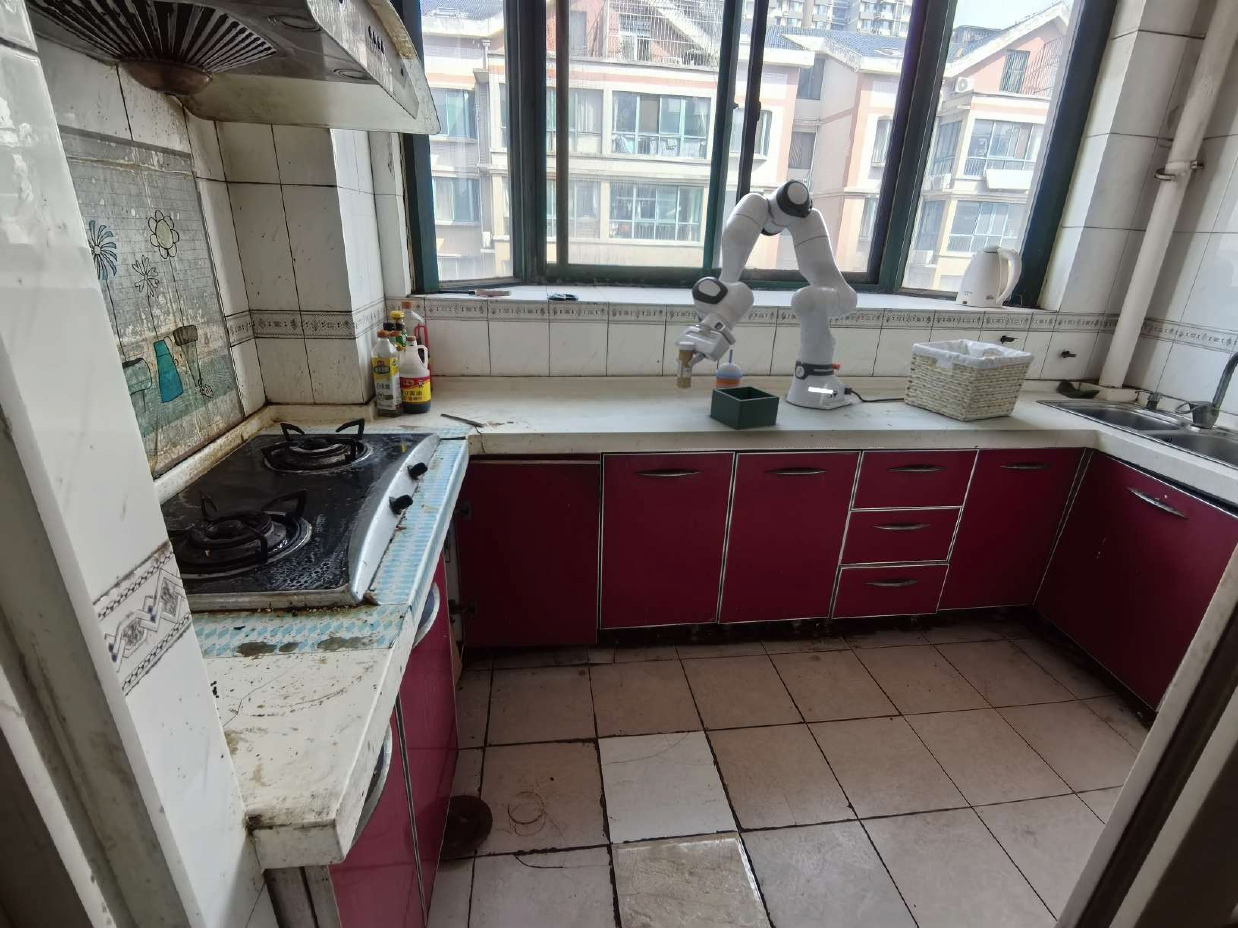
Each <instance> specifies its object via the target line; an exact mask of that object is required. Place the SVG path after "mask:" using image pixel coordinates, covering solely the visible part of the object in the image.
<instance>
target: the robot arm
mask: <svg viewBox="0 0 1238 928" xmlns="http://www.w3.org/2000/svg"><path fill="white" fill-rule="evenodd" d="M813 203H814V202H813V199H812V196H811V193H810V190H809V188H808V187H807V186H806V184H804V183H803V182H802V181H800V180H798V179H790V180H788V181H785V182H784V183H782V184H780V186H779V187H778V188H777V189H775V190H774V191H773V192H772V193H771V194H770V195H768V197H767V198H765V197H764V196H763V195H761V194H759V193H756V192H751V193H748V194H745V195H743V197H742V198H741V199H740V200H739V202H738V203H737V204H736V206H735V207H734V208H733V211H732V212H731V213H730V215H729V217H728V218H727V221H726V222H725V225H724V227H723V229H722V230H723V231H722V233H721V234H722V235H721V239H720V245H721V258H722V260H721V261H722V263H721V265H722V266H721V271H720V274H719V277H718V278H716V277H714V276H705V277H702V278H700V279H699V280H697V281H696V282H695V284H694V285H693V287H692V288H691V294H692V300H693V303H694V304H693V305H694V307H695V310H696V314H697V320H698V324H694V325H693V326H689V327H687V328H686V329H684V330H683V331H682V333H680V335H679V336H678V337H676V339H675V341H674V345H675V346H676V347H677V348H678V349H679V343H680V342H692V343H694V344H695V346H694V351H693V358H692V359H689V360H688V361H687V365H688V366H689V367H691V368H692V369H693V368H694V366H696V364H698V363H700V362H701V361H703V360H704V359H706V360H708V361H712V362H714V363H715V362H717V361H719V360H721V359H722V358H723V357H724V356H725V354H726V353H727V352H728V351H729V350H730V348H731V346H733V345H734V344H735V343H737V339H736V338H735V336H734V334H733V333H732V331H733V330H734V327H735V326H736V325H737V324H739V323H740V322H741V321H742V320H743V319H744V318H745V316H746V315H747V314H748V313H749V311H750V310H751V309H752V306H753V305H754V302H755V297H754V293H753V291H752V290H751V288H750V286H748V285H747V284H746V283H744V282H742V281H740V280H741V278H742V275H743V272H744V270H745V267H746V265H747V263H748V260H749V258H750V256H751V254H752V251H753V249H754V247H755V245H756V243H757V241H758V239H759V237H760V235H763V236H765V237H775V236H776V235H779V234H780V233H781V232H783V231H784V230H785V229H786V230H788V232H789V233H790V235H791V237H792V238H791V239H792V244H793V249H794V253H795V259H796V263H797V267H798V271H799V273H800V275H801V276H802V277H804V279H806V280H807V282H808V283H809V284H808V285H806V286H804V287H801V288H798V289H797V290H796V291H795V292H794V293H793V295H792V297H791V300H790V309H791V312H792V314H793V315H794V316H795V317H796V319H797V321H798V325H799V331H800V332H799V333H800V341H799V348H798V356H797V359H796V360H795V364H794V374H793V377H792V381H791V384H790V389H789V392H788V393H787V396H786V401H787V402H788V403H790V404H793V405H795V406H796V405H797V406H800V407H805V408H814V409H815V408H816V409H821V410H831V409H835V408H840V407H844V406H848V405H851V404H852V400H851V399H850V398H848V397H846V396H851V395H852V394H854V395H856V396H857V398H858V399H859V401H860V402H862V403H863V402H864V403H877V402H891V401H904V397H895V398H892V397H891V398H878V399H877V398H876V399H864V398H863V397H861V395H860V394H859V393H858V392H856V391H855V390H853V388H852V387H850V386H848V385H846V384H844V383H843V382H842V381H841V380H840V379H839V377H837V375H835V371H840V369H841V368H842V366H841V364H840V363H833V359H834V353H835V348H836V338H835V336H834V335H833V334H832V332H831V325H830V323H831V322H830V321H831V320H837V319H841V318H844V317H847V316H849V315H851V314H852V313H853V312H854V311H855V309H856V307H857V305H858V299H859V298H858V295H857V292H856V290H855V289H854V288H853V287H851V285H849V284H848V283H847V281H846V279H845V277H844V276H843V275H842V273H841V270H840V268H839V267H838V265H837V262H836V260H835V255H834V251H833V248H832V243H831V239H830V235H829V231H828V228H827V225H826V222H825V220H824V217H823V216H822V215H823V214H822V213H821V211H819V209H817V208H814V207H813V205H814V204H813ZM678 359H679V355H678V356H677V357H676V359H675V360H676V362H677V363H678Z"/></svg>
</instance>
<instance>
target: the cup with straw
mask: <svg viewBox="0 0 1238 928" xmlns="http://www.w3.org/2000/svg"><path fill="white" fill-rule="evenodd" d="M733 352H734V351H733V349H729V354H728V362H724V363H721V364H720V365H719V366H718V368H717V369H716V370H715V371H714V376H715V377H716V379H715V389H722V388H732V387H740V385H741V382H740V381H741V379H742V378H743V375H744V374H743V372H742V371H741V368H740V366H739V365H738V364H736V363H735V362H732V361H733V354H734V353H733Z"/></svg>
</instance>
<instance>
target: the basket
mask: <svg viewBox="0 0 1238 928" xmlns="http://www.w3.org/2000/svg"><path fill="white" fill-rule="evenodd" d="M986 354H988V355H990V356H985V355H986ZM992 355H996V356H992ZM1034 360H1035V354H1034V353H1032V352H1029V351H1026V352H1025V351H1023V350H1017V349H1014V348H1009V347H1005V346H1002V345H998V344H995V343H989V342H982V341H975V340H968V339H967V338H964V339H962V338H961V339H958V340H953V339H952V340H941V341H939V340H938V341H928V342H915V343H914V344H913V345H912V349H911V358H910V364H909V369H908V376H907V382H906V385H905V391H904V397H903V398H904V400H903V401H904V403H906V404H907V405H911V406H915V407H919V408H921V409H926V410H929V411H932V412H933V413H939V414H942V415H944V416H946V417H949V418H952V419H956V420H958V421H960V422H967V421H974V420H977V419H979V420H985V419H987V418H996V417H1004V416H1011V415H1013V412H1014V411H1015V406H1016V404H1017V401H1018V399H1019V396H1020V393H1021V390H1022V388H1023V385H1024V382H1025V379H1026V377H1027V374H1028V372H1029V369H1030V366H1031V364H1032V363H1033V362H1034Z"/></svg>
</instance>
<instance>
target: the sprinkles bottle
mask: <svg viewBox="0 0 1238 928" xmlns="http://www.w3.org/2000/svg"><path fill="white" fill-rule="evenodd" d="M694 346H695V344H694V343H692V342H680V343H679V348H678V356H679V359H678V362H677V370H676V385H675V386H676V387H677V388H679V389H690V388H692V386H691V385H692V377H693V376H692V375H693V367H692V368H691V367H689V366H688V365H687V361H688V360H689V359H692V358H694V354H693V351H694Z"/></svg>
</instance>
